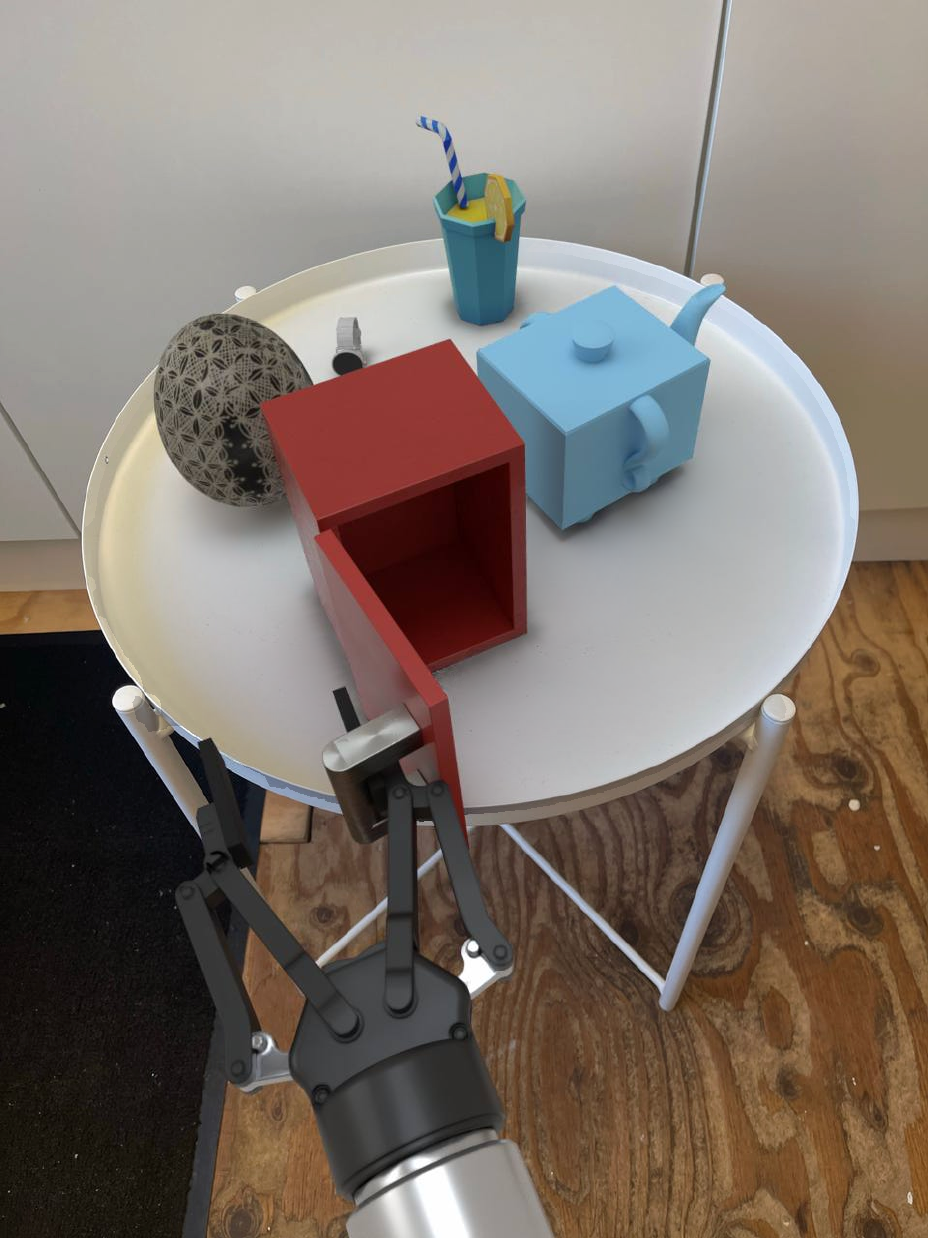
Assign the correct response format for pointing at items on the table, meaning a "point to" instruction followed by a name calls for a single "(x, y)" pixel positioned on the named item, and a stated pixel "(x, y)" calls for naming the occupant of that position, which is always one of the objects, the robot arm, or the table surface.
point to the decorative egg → (225, 406)
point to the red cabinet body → (413, 496)
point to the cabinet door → (383, 703)
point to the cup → (479, 236)
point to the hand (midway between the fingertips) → (277, 727)
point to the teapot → (600, 397)
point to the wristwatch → (348, 347)
